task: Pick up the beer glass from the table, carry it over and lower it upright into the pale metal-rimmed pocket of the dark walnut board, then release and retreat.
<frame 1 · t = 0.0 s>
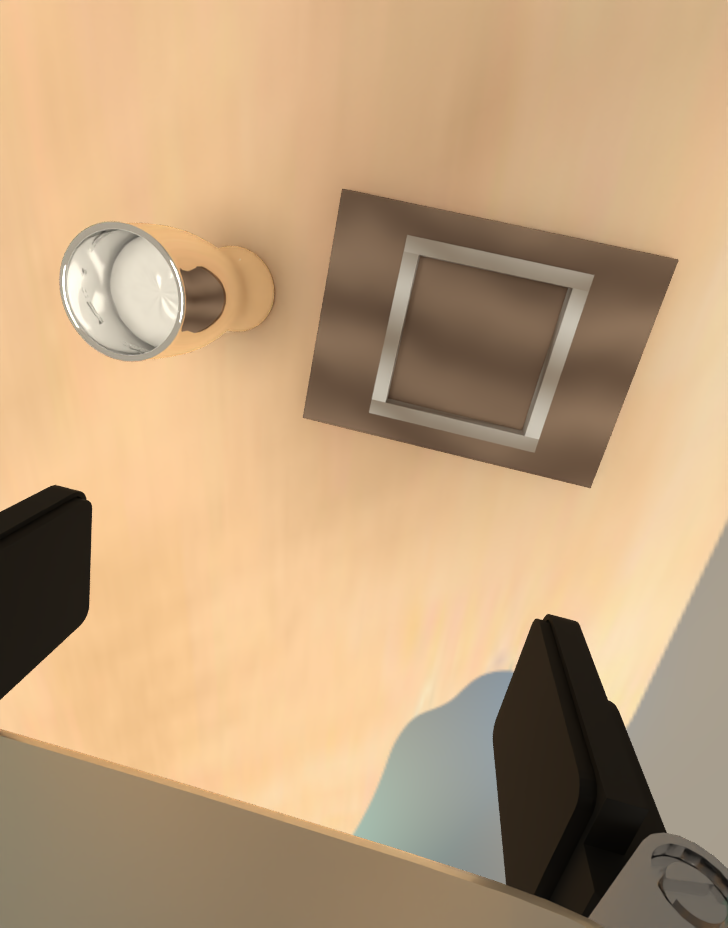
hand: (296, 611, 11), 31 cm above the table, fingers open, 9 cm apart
beer glass: (236, 289, 40), on the table
walnut board: (472, 343, 39), on the table
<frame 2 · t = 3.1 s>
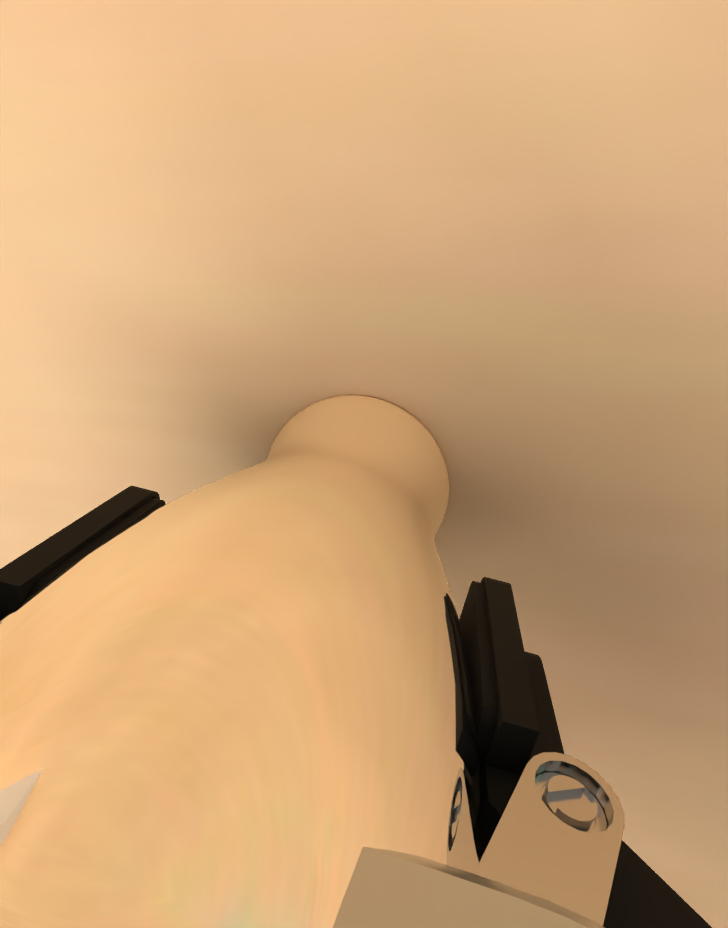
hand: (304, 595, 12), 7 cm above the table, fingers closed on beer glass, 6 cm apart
beer glass: (357, 482, 18), on the table, touching gripper
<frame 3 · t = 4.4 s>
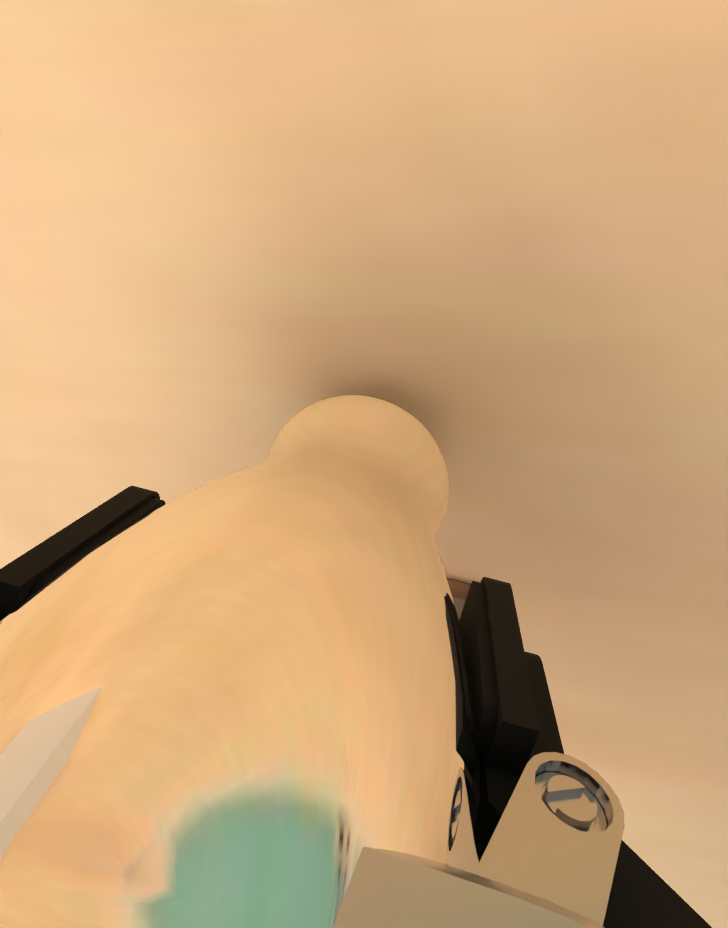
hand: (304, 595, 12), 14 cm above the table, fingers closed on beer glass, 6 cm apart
beer glass: (357, 482, 18), point 7 cm above the table, touching gripper
walnut board: (298, 715, 31), on the table
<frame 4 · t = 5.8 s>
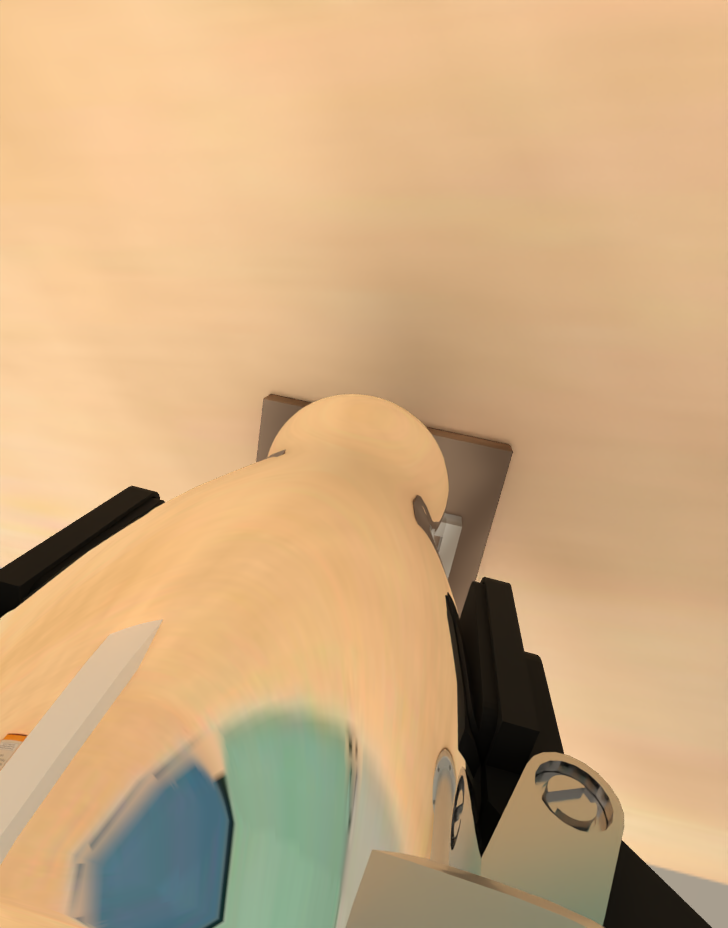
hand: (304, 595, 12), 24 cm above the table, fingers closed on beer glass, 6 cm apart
beer glass: (357, 481, 18), point 17 cm above the table, touching gripper
walnut board: (359, 563, 39), on the table
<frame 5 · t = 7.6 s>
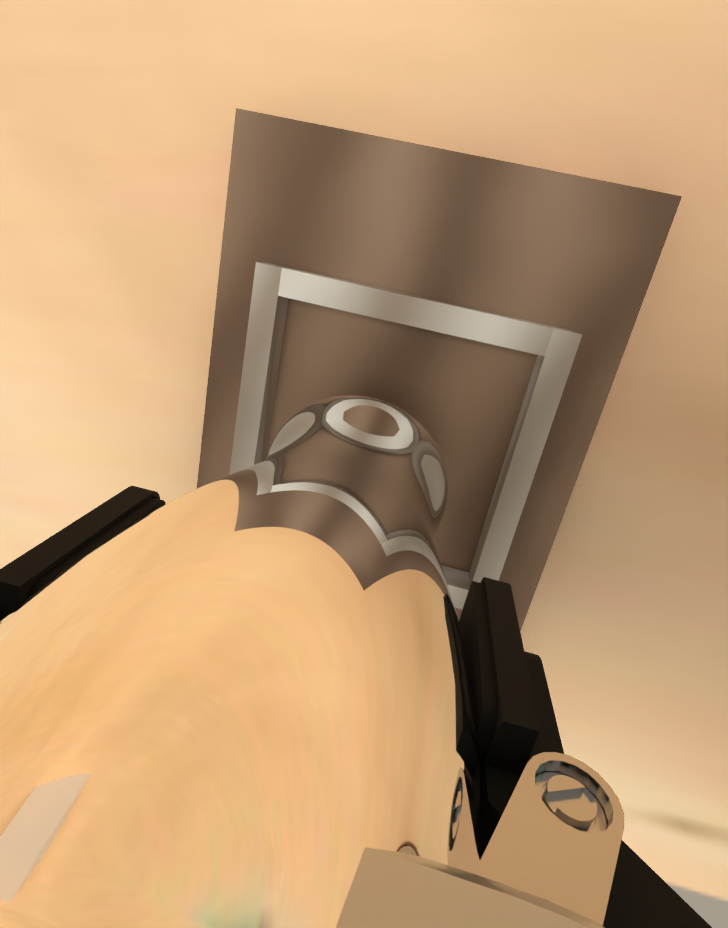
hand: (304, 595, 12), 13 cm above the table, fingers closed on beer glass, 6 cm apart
beer glass: (356, 482, 18), point 7 cm above the table, touching gripper
walnut board: (388, 432, 24), on the table
when the fingers open (9 cm above the table, at t = 8.9 s): beer glass stays where it is, resting on walnut board.
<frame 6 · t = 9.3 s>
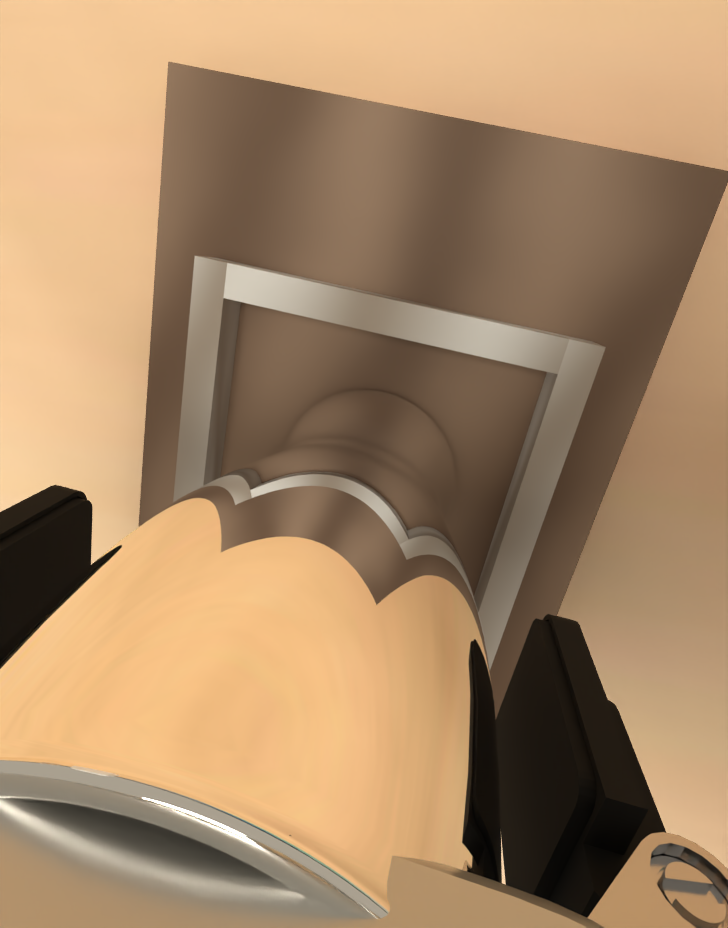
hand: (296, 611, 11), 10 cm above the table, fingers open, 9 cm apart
beer glass: (368, 473, 19), point 1 cm above the table, touching walnut board
walnut board: (366, 461, 20), on the table
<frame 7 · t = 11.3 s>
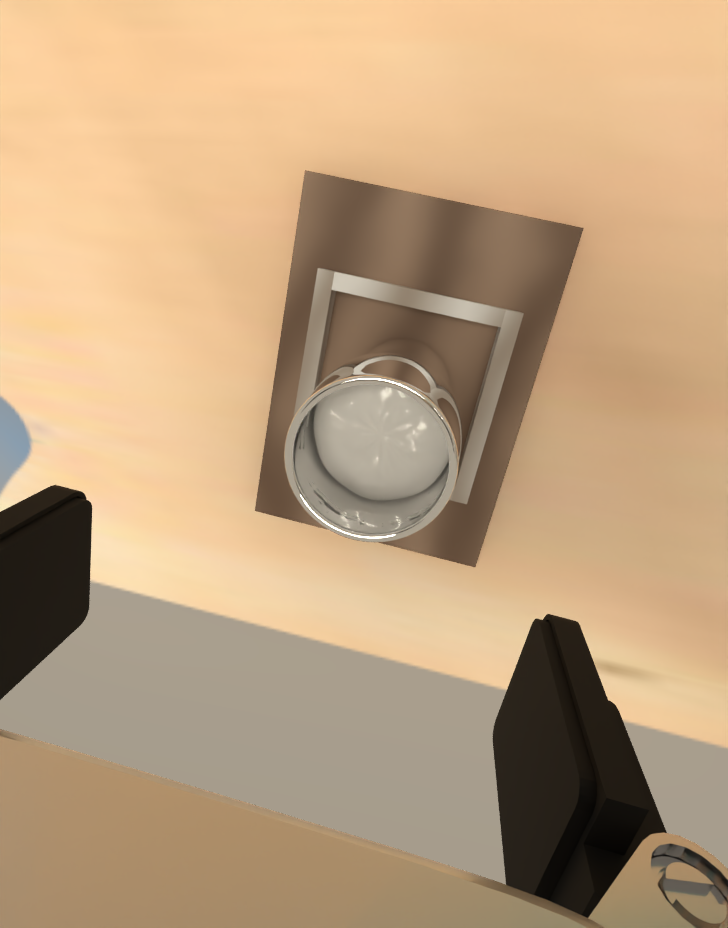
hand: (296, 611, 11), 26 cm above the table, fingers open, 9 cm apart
beer glass: (402, 387, 34), point 1 cm above the table, touching walnut board
walnut board: (400, 383, 35), on the table
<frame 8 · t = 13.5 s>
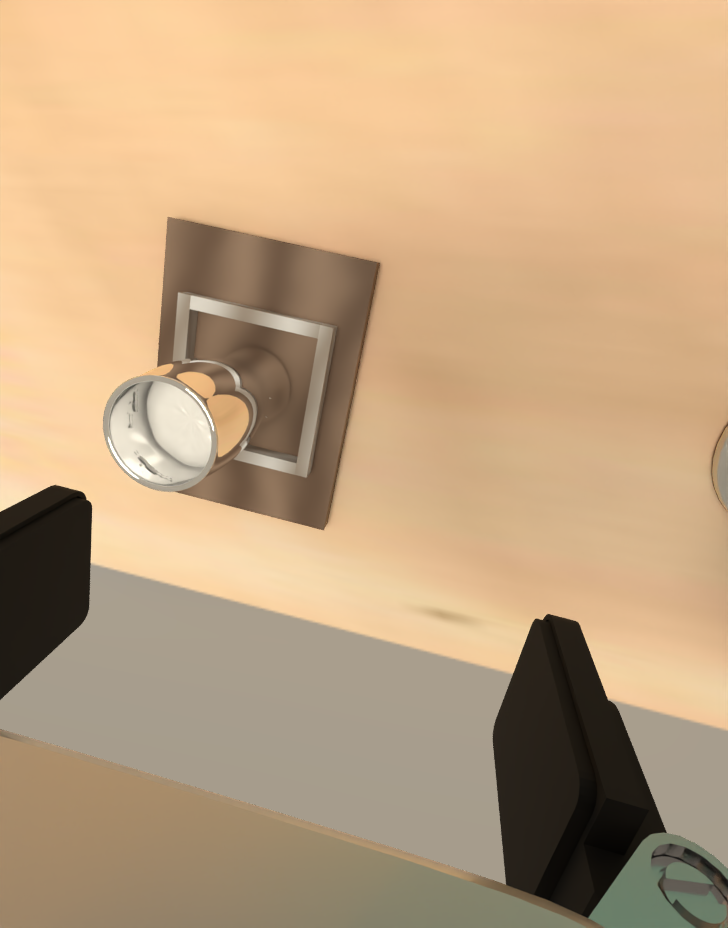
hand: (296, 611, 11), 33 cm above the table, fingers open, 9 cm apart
beer glass: (255, 384, 43), point 1 cm above the table, touching walnut board
walnut board: (257, 381, 44), on the table
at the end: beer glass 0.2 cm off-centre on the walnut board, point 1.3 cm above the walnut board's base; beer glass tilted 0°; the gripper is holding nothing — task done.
